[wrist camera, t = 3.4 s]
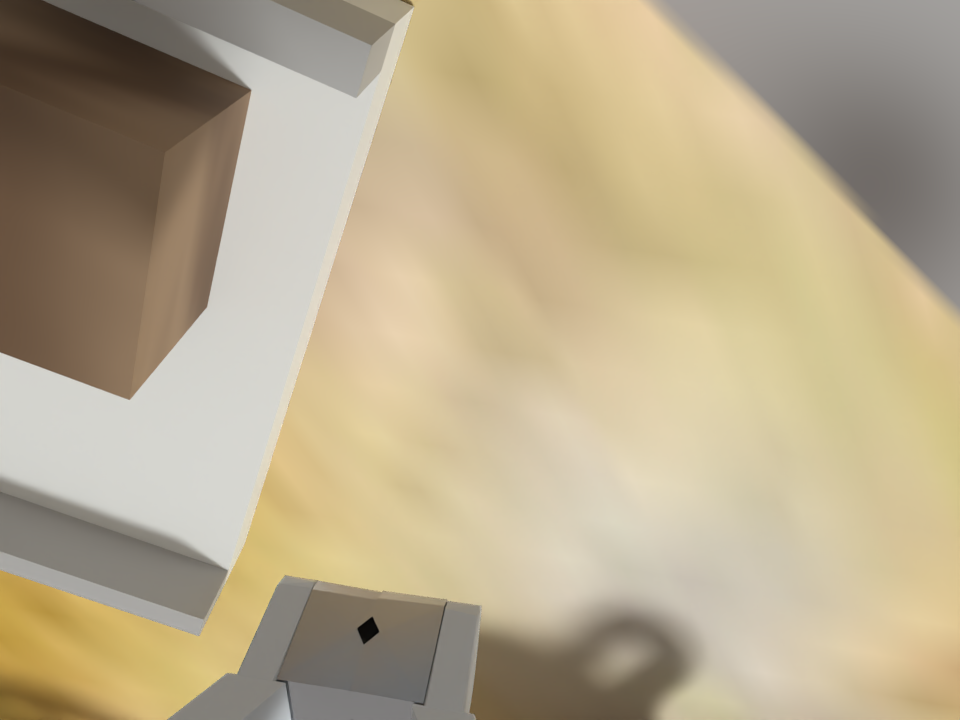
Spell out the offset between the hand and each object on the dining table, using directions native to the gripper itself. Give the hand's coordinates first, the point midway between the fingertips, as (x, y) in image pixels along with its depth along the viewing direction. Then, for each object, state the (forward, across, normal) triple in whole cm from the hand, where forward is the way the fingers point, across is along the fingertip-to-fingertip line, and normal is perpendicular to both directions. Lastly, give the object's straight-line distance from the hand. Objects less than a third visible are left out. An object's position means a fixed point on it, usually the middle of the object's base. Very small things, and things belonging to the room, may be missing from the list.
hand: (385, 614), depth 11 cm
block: (+9, +9, -3) cm, 13 cm away
